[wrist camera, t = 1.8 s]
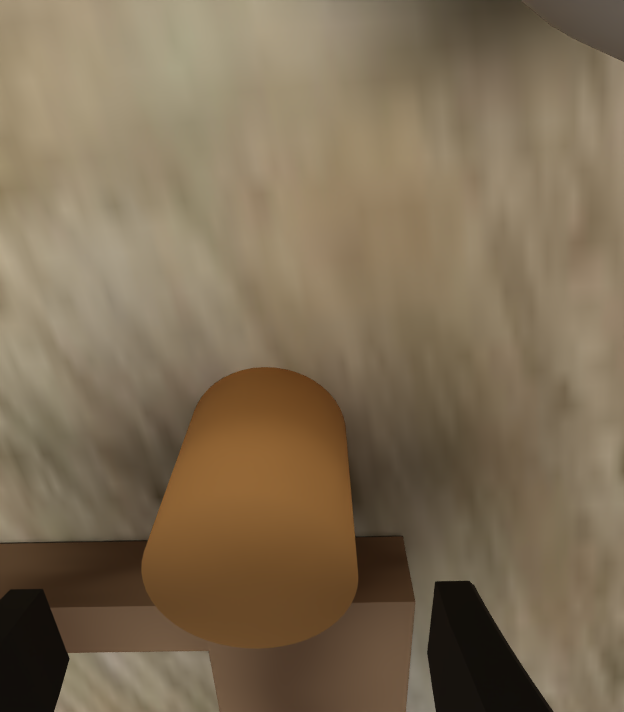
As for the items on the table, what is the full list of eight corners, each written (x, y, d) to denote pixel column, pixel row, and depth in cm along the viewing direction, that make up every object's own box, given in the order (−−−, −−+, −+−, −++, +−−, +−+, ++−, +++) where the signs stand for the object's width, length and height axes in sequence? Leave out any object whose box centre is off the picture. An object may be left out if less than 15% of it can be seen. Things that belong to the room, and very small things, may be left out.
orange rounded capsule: (345, 365, 14) (359, 494, 10) (345, 492, 16) (357, 647, 12) (181, 369, 14) (122, 498, 10) (201, 495, 17) (160, 650, 12)
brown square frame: (402, 536, 17) (415, 601, 15) (388, 746, 23) (396, 815, 21) (-95, 545, 17) (-152, 611, 15) (11, 750, 23) (-20, 819, 21)
